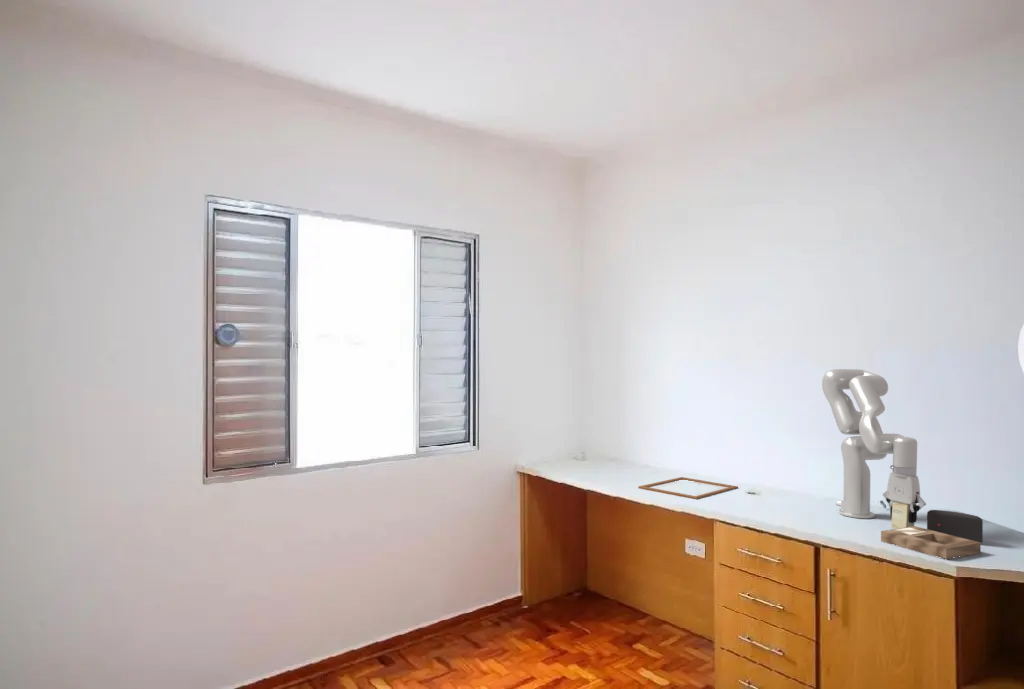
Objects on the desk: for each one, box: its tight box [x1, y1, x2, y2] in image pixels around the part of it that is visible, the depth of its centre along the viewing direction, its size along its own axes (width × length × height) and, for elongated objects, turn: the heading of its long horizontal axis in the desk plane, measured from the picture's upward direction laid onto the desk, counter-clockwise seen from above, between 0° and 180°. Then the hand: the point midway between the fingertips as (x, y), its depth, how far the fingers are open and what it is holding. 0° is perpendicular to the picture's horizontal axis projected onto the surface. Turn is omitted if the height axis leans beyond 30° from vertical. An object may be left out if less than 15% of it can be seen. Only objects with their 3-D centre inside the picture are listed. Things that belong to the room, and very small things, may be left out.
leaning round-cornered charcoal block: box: [926, 509, 984, 544], centre depth 230 cm, size 16×5×9 cm, turn 49°
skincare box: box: [890, 500, 916, 529], centre depth 240 cm, size 6×4×12 cm
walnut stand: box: [880, 525, 982, 560], centre depth 220 cm, size 22×18×4 cm
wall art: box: [637, 476, 739, 500], centre depth 312 cm, size 31×2×38 cm
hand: (903, 519), depth 240 cm, fingers closed on skincare box, 6 cm apart
